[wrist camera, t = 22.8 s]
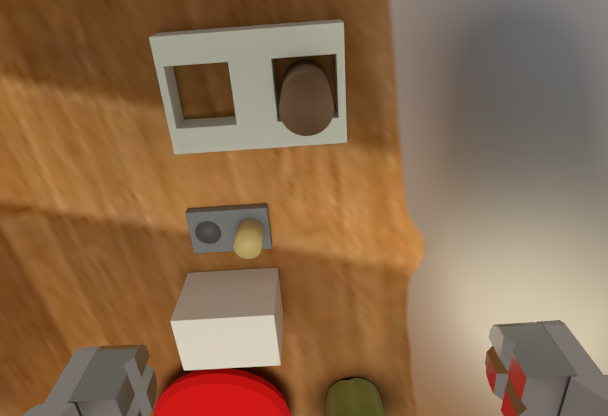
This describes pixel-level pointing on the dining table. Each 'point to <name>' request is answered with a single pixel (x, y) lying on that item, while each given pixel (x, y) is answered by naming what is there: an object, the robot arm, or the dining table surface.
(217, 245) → the plate
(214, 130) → the peg board
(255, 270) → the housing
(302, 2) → the dining table surface
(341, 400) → the plant pot
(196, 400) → the red domed lid
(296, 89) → the peg
